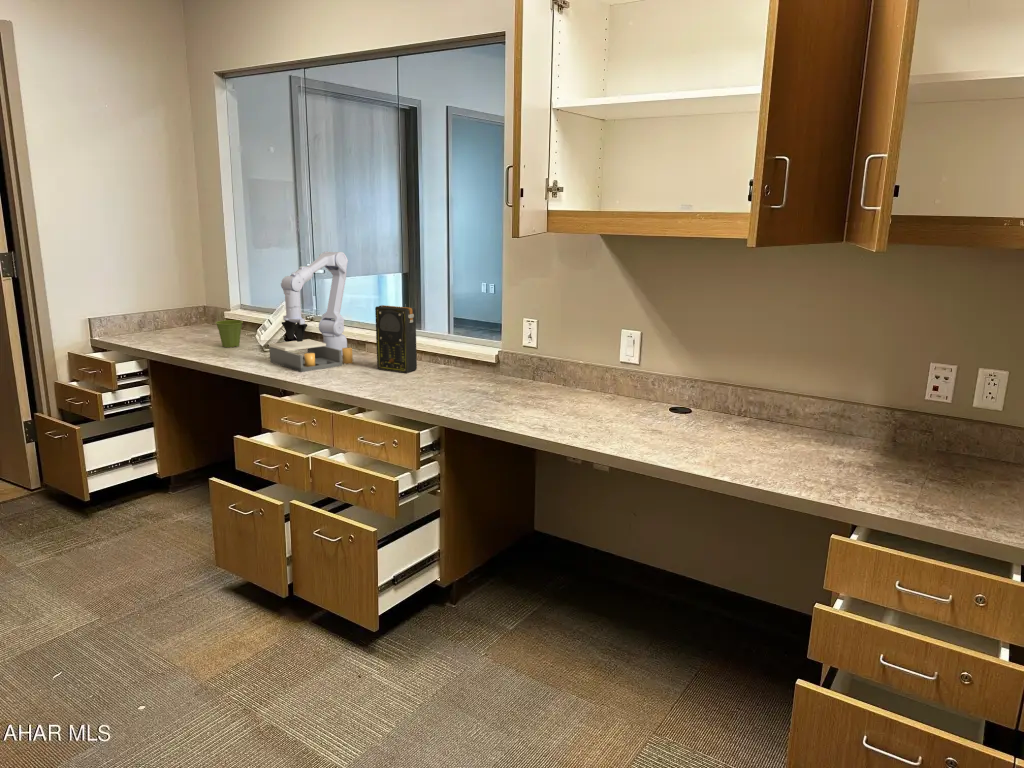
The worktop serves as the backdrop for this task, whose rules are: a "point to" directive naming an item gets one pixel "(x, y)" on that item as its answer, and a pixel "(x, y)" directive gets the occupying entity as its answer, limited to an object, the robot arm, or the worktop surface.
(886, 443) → the worktop surface
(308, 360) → the orange rounded cylinder
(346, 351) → the peg
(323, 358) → the housing
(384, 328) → the voltmeter
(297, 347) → the lid
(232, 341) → the plant pot
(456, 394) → the worktop surface
